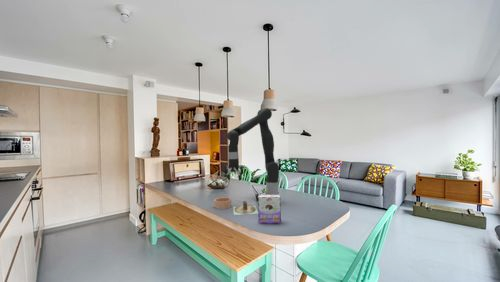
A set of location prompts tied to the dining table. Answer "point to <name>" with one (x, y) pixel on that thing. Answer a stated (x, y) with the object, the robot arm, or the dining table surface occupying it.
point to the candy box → (269, 209)
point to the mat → (241, 213)
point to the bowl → (222, 203)
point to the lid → (245, 208)
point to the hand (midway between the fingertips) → (234, 180)
